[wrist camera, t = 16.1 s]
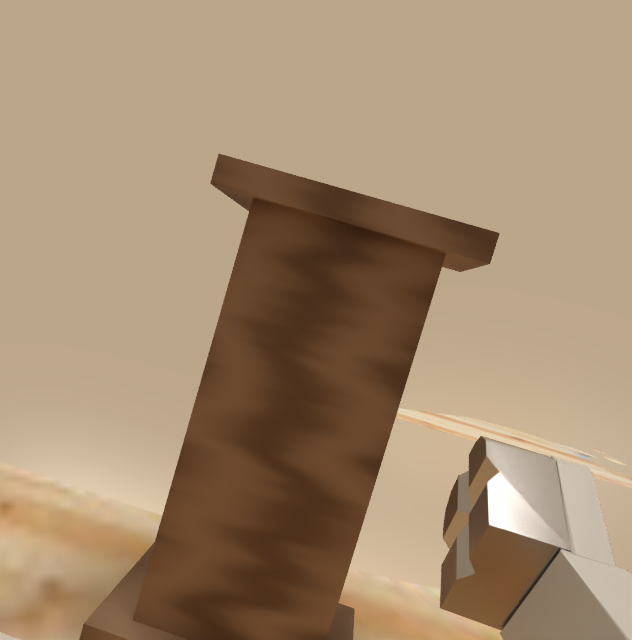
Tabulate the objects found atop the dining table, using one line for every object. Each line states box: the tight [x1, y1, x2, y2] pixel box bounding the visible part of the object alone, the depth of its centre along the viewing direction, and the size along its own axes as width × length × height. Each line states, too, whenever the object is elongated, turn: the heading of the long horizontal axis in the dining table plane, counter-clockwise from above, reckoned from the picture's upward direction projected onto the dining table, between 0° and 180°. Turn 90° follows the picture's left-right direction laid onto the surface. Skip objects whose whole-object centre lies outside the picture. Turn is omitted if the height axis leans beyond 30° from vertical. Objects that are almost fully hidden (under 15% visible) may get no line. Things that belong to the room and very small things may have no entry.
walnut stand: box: [80, 154, 499, 640], centre depth 33 cm, size 14×10×26 cm
